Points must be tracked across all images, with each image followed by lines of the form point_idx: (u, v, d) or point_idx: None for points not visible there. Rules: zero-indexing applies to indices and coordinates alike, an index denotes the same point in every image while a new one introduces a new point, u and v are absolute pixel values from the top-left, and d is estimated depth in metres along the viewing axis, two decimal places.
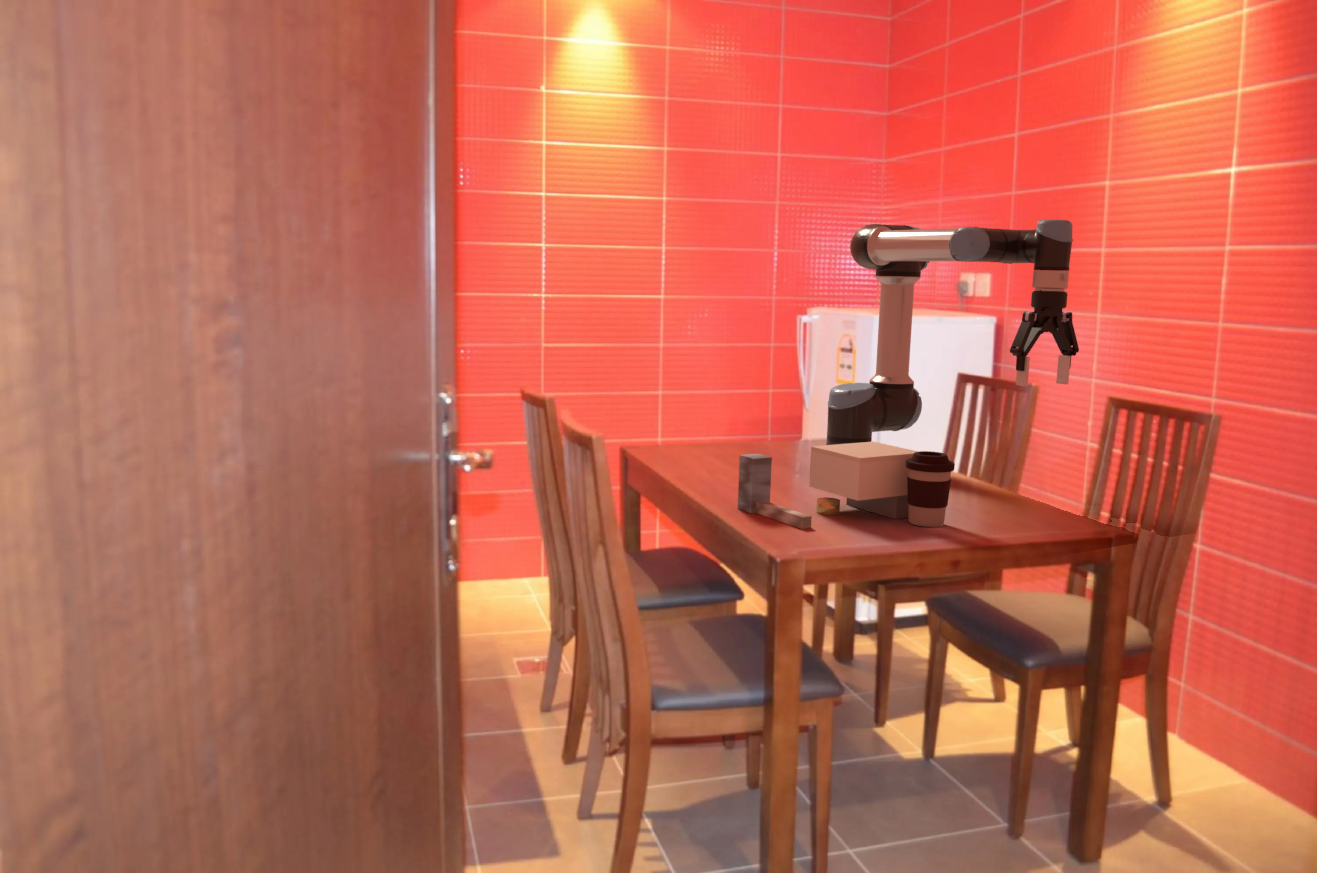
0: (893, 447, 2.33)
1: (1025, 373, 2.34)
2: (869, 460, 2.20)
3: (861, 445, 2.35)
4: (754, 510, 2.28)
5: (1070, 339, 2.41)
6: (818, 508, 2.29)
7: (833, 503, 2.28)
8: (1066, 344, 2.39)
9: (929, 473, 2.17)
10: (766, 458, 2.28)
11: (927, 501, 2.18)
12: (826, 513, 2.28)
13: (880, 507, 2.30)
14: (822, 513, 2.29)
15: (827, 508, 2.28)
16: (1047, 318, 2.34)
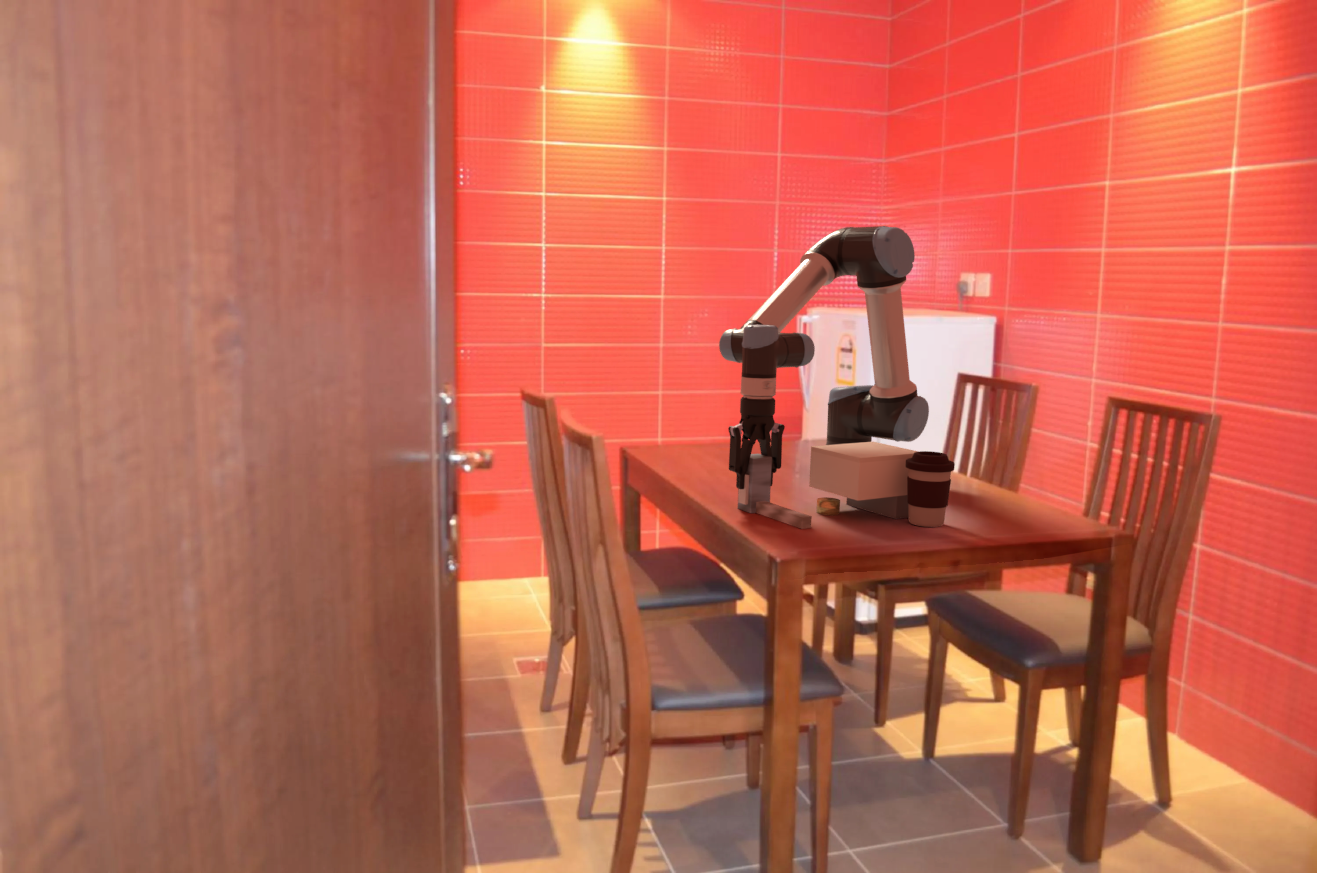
0: (893, 447, 2.33)
1: (745, 491, 2.28)
2: (869, 460, 2.20)
3: (861, 445, 2.35)
4: (754, 510, 2.28)
5: (775, 452, 2.32)
6: (818, 508, 2.29)
7: (833, 503, 2.28)
8: None
9: (929, 473, 2.17)
10: (766, 458, 2.28)
11: (927, 501, 2.18)
12: (826, 513, 2.28)
13: (880, 507, 2.30)
14: (822, 513, 2.29)
15: (827, 508, 2.28)
16: (753, 428, 2.26)
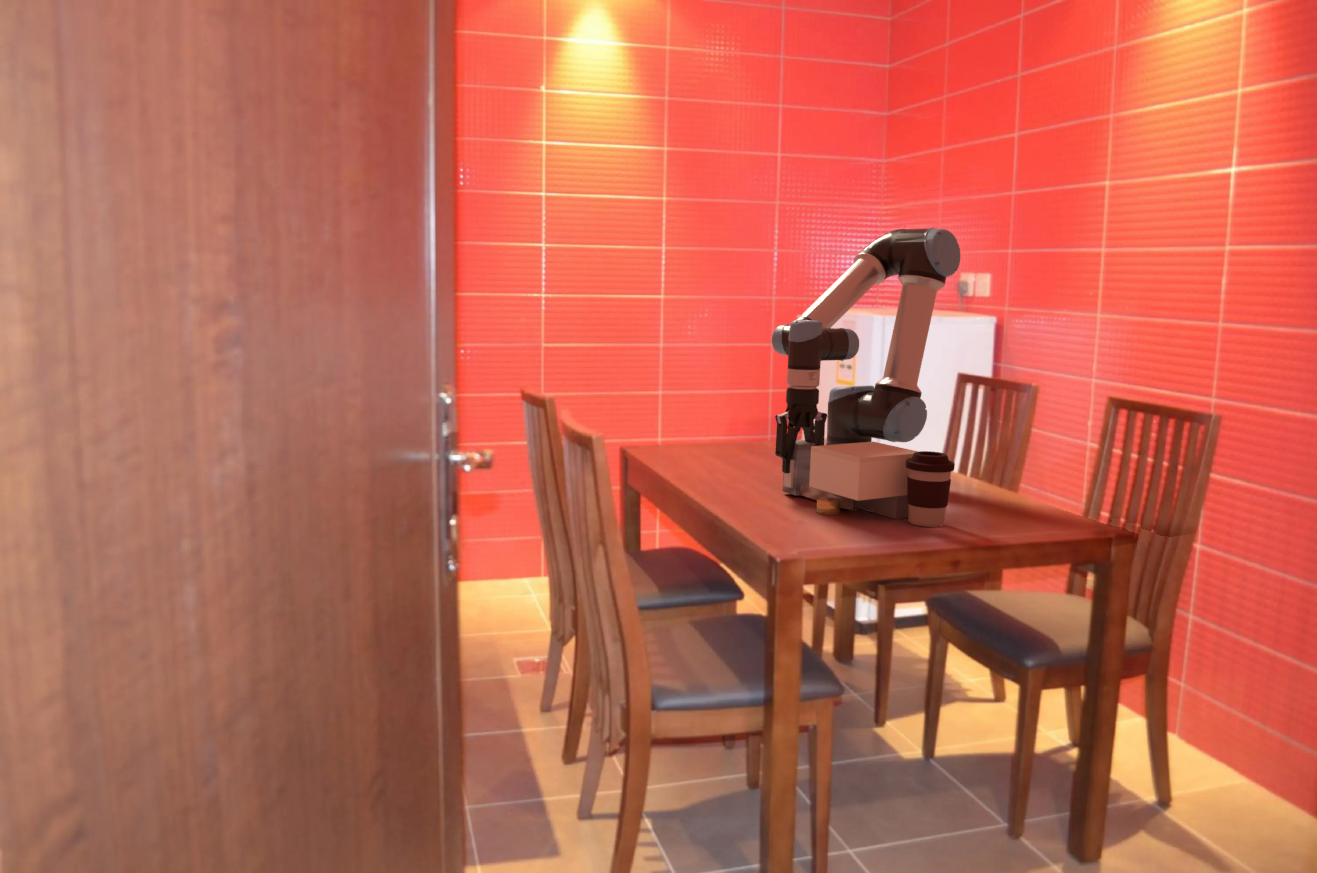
0: (893, 447, 2.33)
1: (790, 475, 2.45)
2: (869, 460, 2.20)
3: (861, 445, 2.35)
4: (798, 492, 2.45)
5: (818, 439, 2.48)
6: (818, 508, 2.29)
7: (833, 503, 2.28)
8: None
9: (929, 473, 2.17)
10: (810, 444, 2.45)
11: (927, 501, 2.18)
12: (826, 513, 2.28)
13: (880, 507, 2.30)
14: (822, 513, 2.29)
15: (827, 508, 2.28)
16: (799, 416, 2.43)
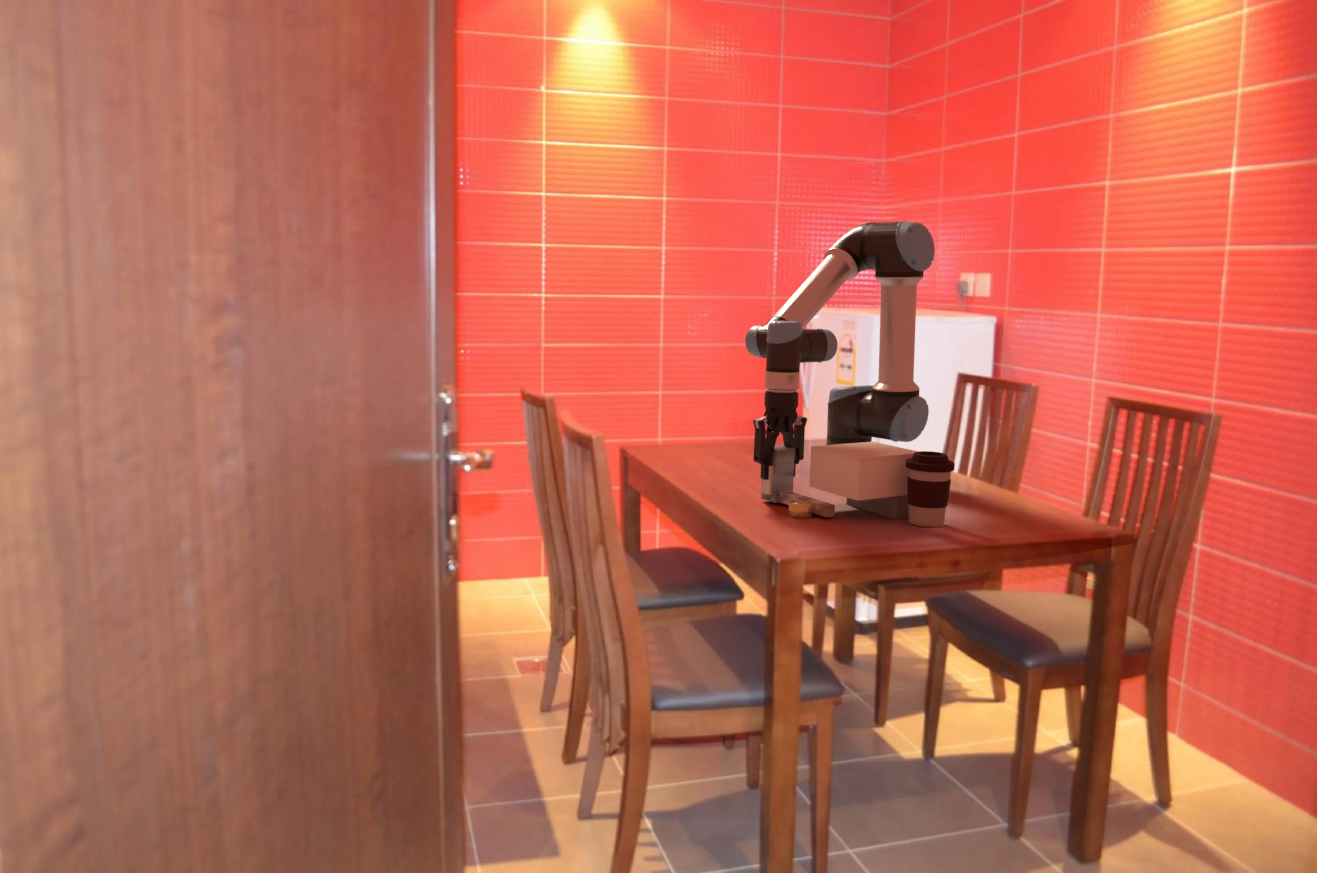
0: (893, 447, 2.33)
1: (769, 482, 2.36)
2: (869, 460, 2.20)
3: (861, 445, 2.35)
4: (778, 500, 2.36)
5: (797, 444, 2.40)
6: (790, 511, 2.25)
7: (806, 506, 2.24)
8: None
9: (929, 473, 2.17)
10: (789, 449, 2.36)
11: (927, 501, 2.18)
12: (799, 516, 2.24)
13: (880, 507, 2.30)
14: (795, 516, 2.24)
15: (800, 511, 2.24)
16: (777, 420, 2.34)
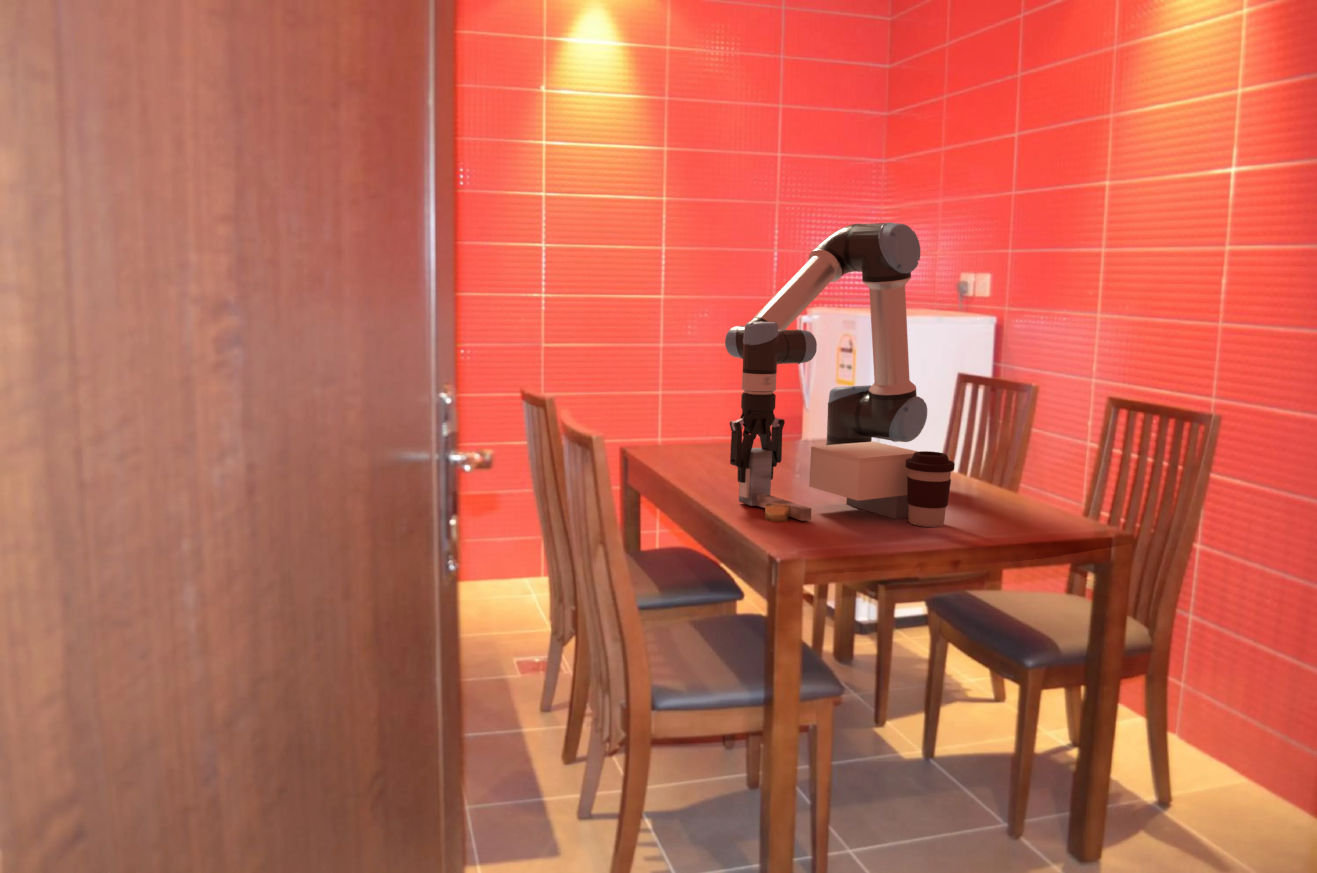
0: (893, 447, 2.33)
1: (746, 485, 2.33)
2: (869, 460, 2.20)
3: (861, 445, 2.35)
4: (755, 503, 2.33)
5: (775, 446, 2.36)
6: (767, 514, 2.22)
7: (782, 509, 2.21)
8: None
9: (929, 473, 2.17)
10: (766, 452, 2.33)
11: (927, 501, 2.18)
12: (775, 519, 2.21)
13: (880, 507, 2.30)
14: (771, 519, 2.21)
15: (776, 514, 2.21)
16: (754, 422, 2.31)
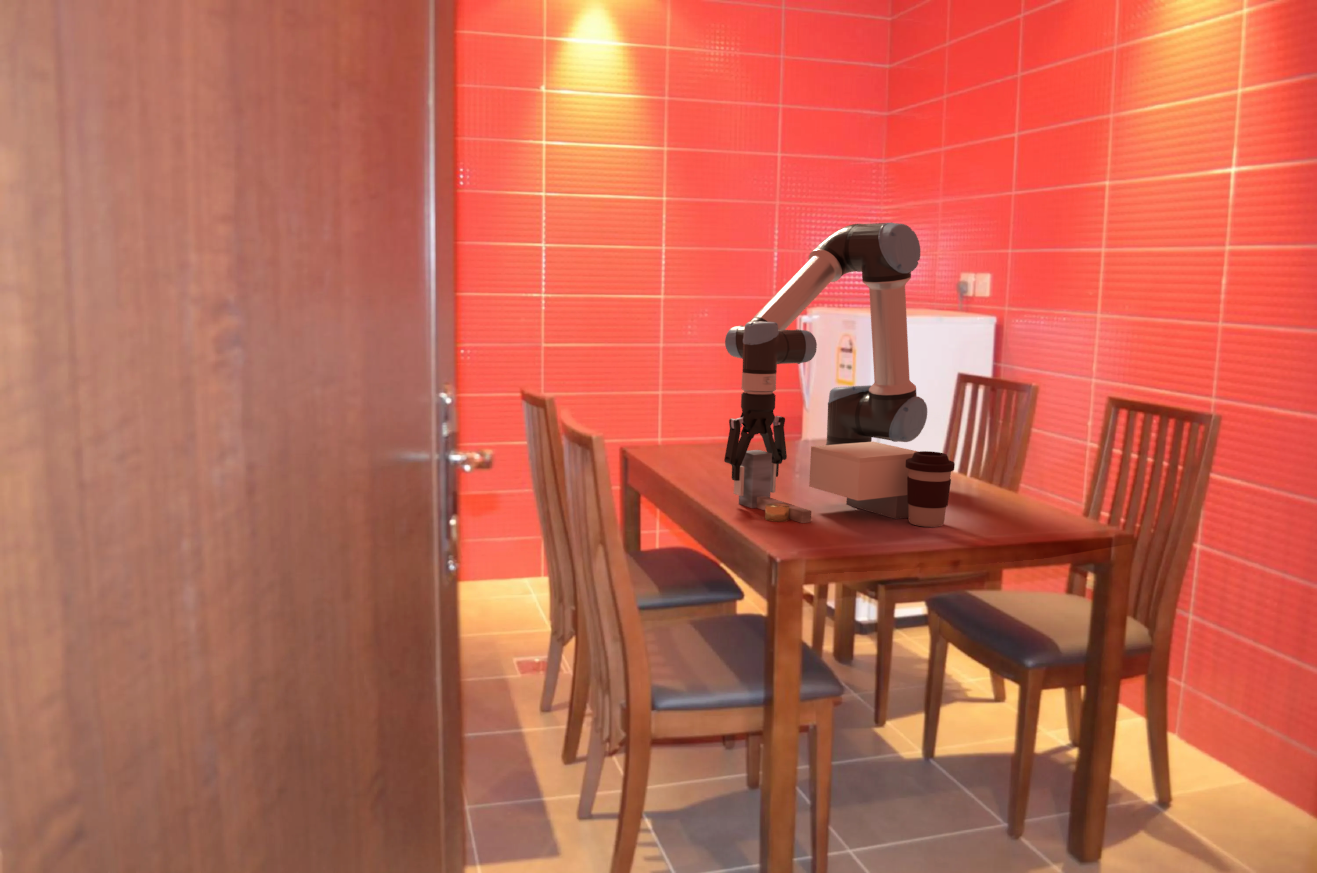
0: (893, 447, 2.33)
1: (740, 483, 2.32)
2: (869, 460, 2.20)
3: (861, 445, 2.35)
4: (755, 505, 2.33)
5: (779, 444, 2.37)
6: (767, 514, 2.22)
7: (782, 509, 2.21)
8: (773, 450, 2.35)
9: (929, 473, 2.17)
10: (766, 454, 2.33)
11: (927, 501, 2.18)
12: (775, 520, 2.21)
13: (880, 507, 2.30)
14: (771, 520, 2.21)
15: (776, 514, 2.21)
16: (754, 422, 2.31)
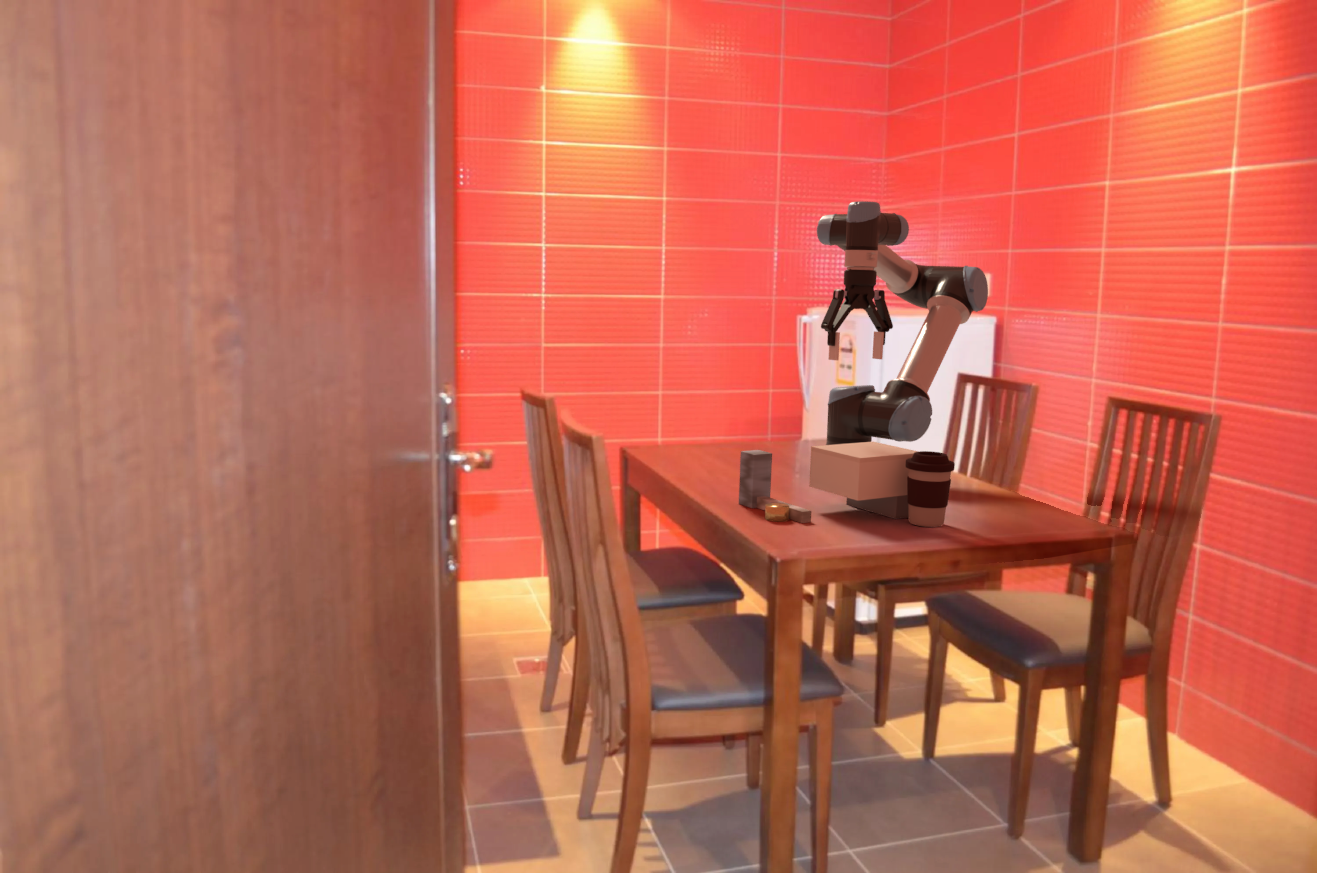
0: (893, 447, 2.33)
1: (835, 348, 2.46)
2: (869, 460, 2.20)
3: (861, 445, 2.35)
4: (755, 505, 2.33)
5: (883, 316, 2.52)
6: (767, 514, 2.22)
7: (782, 509, 2.21)
8: (879, 321, 2.51)
9: (929, 473, 2.17)
10: (767, 454, 2.33)
11: (927, 501, 2.18)
12: (775, 520, 2.21)
13: (880, 507, 2.30)
14: (771, 520, 2.21)
15: (776, 514, 2.21)
16: (857, 295, 2.46)
